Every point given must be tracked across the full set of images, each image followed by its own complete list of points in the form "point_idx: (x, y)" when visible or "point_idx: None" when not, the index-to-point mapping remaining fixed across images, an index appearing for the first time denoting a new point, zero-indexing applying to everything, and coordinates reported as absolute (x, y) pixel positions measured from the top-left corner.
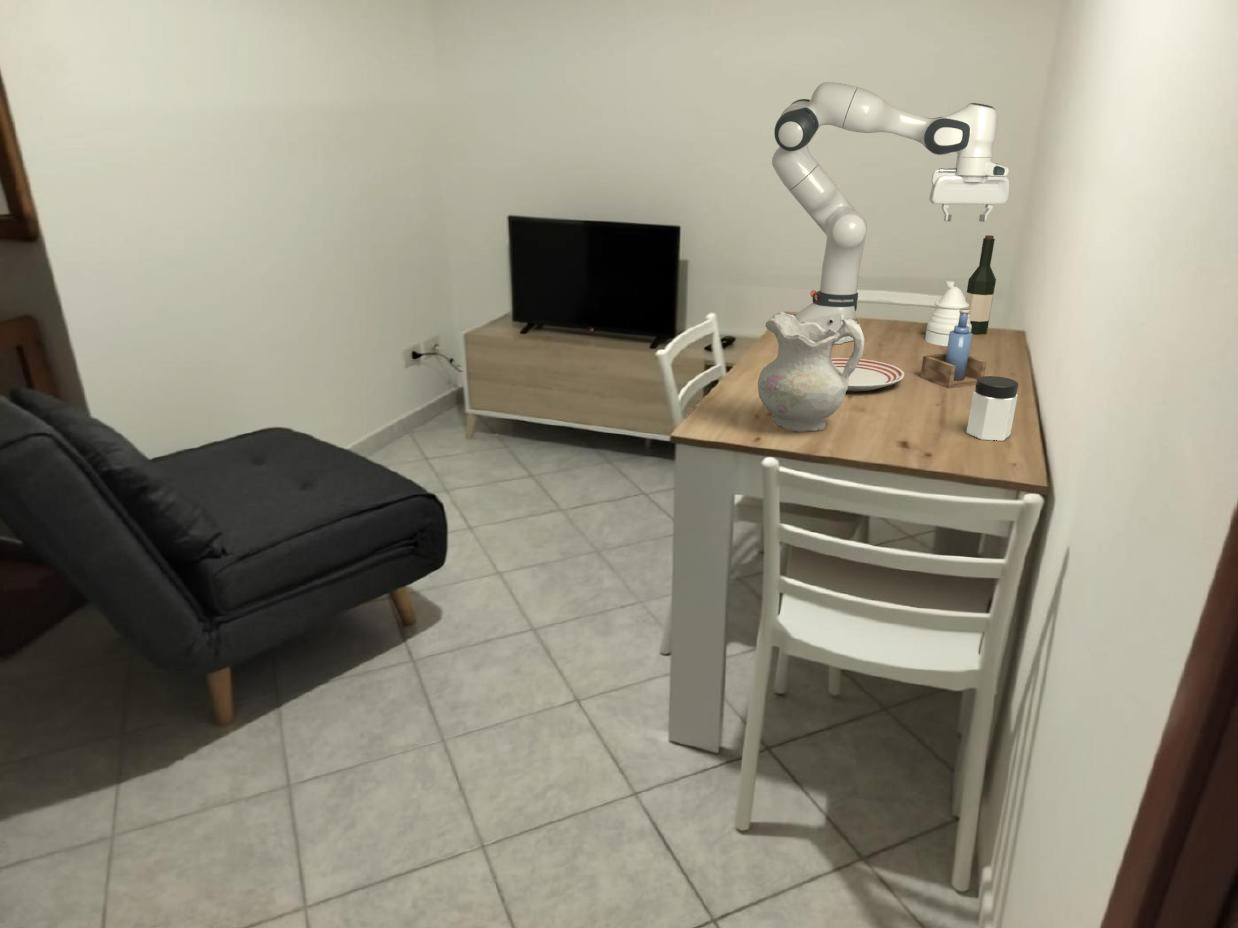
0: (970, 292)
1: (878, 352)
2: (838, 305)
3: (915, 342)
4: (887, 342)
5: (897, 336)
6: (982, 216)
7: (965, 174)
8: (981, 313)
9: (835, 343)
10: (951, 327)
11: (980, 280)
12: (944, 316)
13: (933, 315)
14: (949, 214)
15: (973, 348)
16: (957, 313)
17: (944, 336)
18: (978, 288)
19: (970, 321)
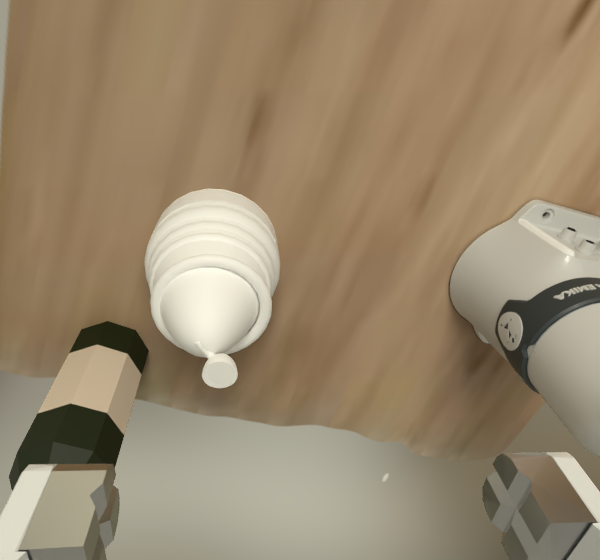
0: (113, 425)
1: (467, 111)
2: (597, 279)
3: (312, 231)
4: (391, 228)
5: (337, 291)
6: (73, 527)
7: None
8: (88, 360)
9: (544, 201)
10: (225, 215)
11: (74, 450)
12: (247, 248)
13: (270, 283)
14: (554, 551)
15: (157, 167)
16: (204, 247)
17: (243, 206)
18: (86, 426)
19: (123, 351)
